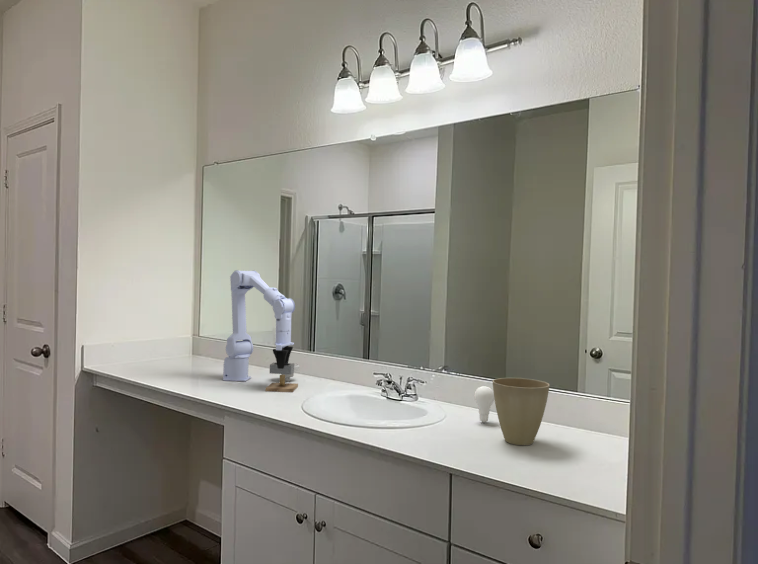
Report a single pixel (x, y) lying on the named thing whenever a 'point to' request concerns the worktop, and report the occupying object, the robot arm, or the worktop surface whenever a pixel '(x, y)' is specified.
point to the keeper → (282, 386)
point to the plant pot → (520, 408)
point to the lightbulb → (484, 401)
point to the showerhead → (287, 376)
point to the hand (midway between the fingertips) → (282, 367)
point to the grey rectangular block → (287, 369)
